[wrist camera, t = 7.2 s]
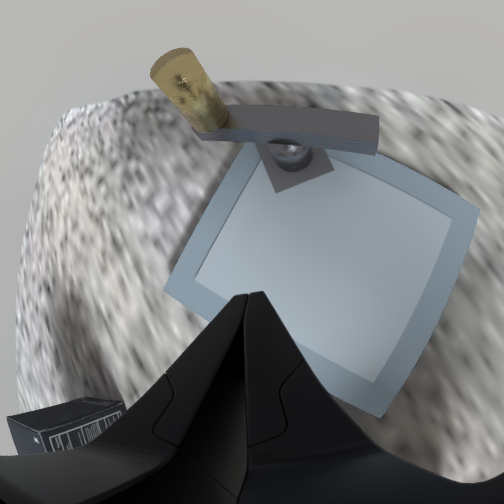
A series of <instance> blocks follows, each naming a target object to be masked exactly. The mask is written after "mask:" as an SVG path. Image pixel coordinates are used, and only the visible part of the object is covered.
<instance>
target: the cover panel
mask: <svg viewBox="0 0 504 504" xmlns="http://www.w3.org/2000/svg"><path fill="white" fill-rule="evenodd" d="M312 151H313V157H312V160H311V162H310V163H309V165H308V166H307V167H305V168H304V169H302V170H300V171H296V172H288V171H284V170H282V169H281V168H279V167H278V166H277V165H276V163H275V161H274V159H273V157H272V155H271V153H270V150H269V148H268V146H267V144H266V143H256V142H245V144H244V145H243V147H242V148H241V150H240V152H239V153H238V155H237V157H236V158H235V160H234V162H233V163H232V165H231V167H230V168H229V170H228V172H227V173H226V175H225V177H224V179H223V180H222V182H221V184H220V185H219V187H218V189H217V191H216V192H215V194H214V196H213V198H212V199H211V201H210V203H209V205H208V206H207V208H206V210H205V212H204V214H203V215H202V217H201V219H200V221H199V223H198V224H197V226H196V228H195V230H194V232H193V233H192V235H191V237H190V239H189V241H188V243H187V245H186V246H185V248H184V250H183V252H182V254H181V256H180V258H179V260H178V262H177V263H176V265H175V267H174V269H173V271H172V273H171V275H170V277H169V279H168V281H167V283H166V285H165V287H164V289H163V291H165V292H166V293H168V294H169V295H170V296H172V297H173V298H175V299H176V300H178V301H179V302H180V303H182V304H183V305H185V306H186V307H188V308H189V309H191V310H192V311H194V312H195V313H197V314H198V315H200V316H201V317H203V318H204V319H206V320H207V321H209V322H211V321H212V320H213V318H214V317H215V316H216V315H217V314H218V313H219V312H220V311H221V310H222V308H223V307H224V306H225V305H226V304H227V303H228V302H229V301H230V299H231V298H232V297H233V296H234V295H238V294H245V293H248V294H250V293H251V292H257V291H264V292H265V294H266V295H267V297H268V299H269V300H270V302H271V304H272V305H273V307H274V309H275V310H276V312H277V313H278V315H279V317H280V318H281V320H282V322H283V323H284V325H285V327H286V328H287V330H288V332H289V333H290V335H291V337H292V338H293V340H294V341H295V343H296V345H297V346H298V348H299V350H300V351H301V353H302V355H303V356H304V358H305V360H306V361H307V362H308V364H309V366H310V367H311V369H312V370H313V372H314V373H315V375H316V376H317V378H318V379H319V381H320V382H321V384H322V385H323V386H324V387H325V389H326V390H327V391H328V392H329V393H330V394H332V395H333V396H335V397H337V398H339V399H341V400H343V401H345V402H347V403H349V404H351V405H353V406H355V407H357V408H359V409H361V410H363V411H365V412H367V413H369V414H371V415H373V416H375V417H377V418H379V419H381V417H382V416H383V414H384V413H385V412H386V410H387V409H388V407H389V406H390V404H391V403H392V401H393V400H394V398H395V397H396V395H397V394H398V392H399V391H400V389H401V387H402V386H403V384H404V383H405V381H406V379H407V378H408V376H409V374H410V373H411V371H412V369H413V368H414V366H415V364H416V362H417V361H418V359H419V357H420V355H421V354H422V352H423V350H424V348H425V346H426V344H427V342H428V341H429V339H430V337H431V335H432V333H433V331H434V329H435V327H436V325H437V323H438V321H439V319H440V316H441V314H442V312H443V310H444V308H445V306H446V303H447V301H448V299H449V297H450V294H451V292H452V290H453V287H454V285H455V282H456V280H457V277H458V275H459V272H460V270H461V267H462V264H463V262H464V259H465V256H466V253H467V250H468V248H469V245H470V242H471V239H472V235H473V232H474V229H475V226H476V222H477V219H478V216H479V212H480V209H479V208H478V207H476V206H474V205H473V204H471V203H470V202H468V201H466V200H465V199H463V198H462V197H460V196H458V195H457V194H455V193H453V192H452V191H450V190H448V189H446V188H445V187H443V186H441V185H439V184H438V183H436V182H434V181H432V180H430V179H429V178H427V177H425V176H423V175H421V174H419V173H417V172H415V171H414V170H412V169H410V168H408V167H406V166H404V165H402V164H400V163H398V162H396V161H394V160H392V159H389V158H387V157H385V156H383V155H381V154H379V153H377V152H376V155H375V156H372V155H366V154H359V153H353V152H346V151H338V150H331V149H323V148H314V147H312Z"/></svg>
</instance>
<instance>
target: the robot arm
mask: <svg viewBox="0 0 504 504" xmlns="http://www.w3.org/2000/svg"><path fill="white" fill-rule="evenodd" d="M0 504H504V472H503V473H501V474H500V475H498V476H496V477H494V478H492V479H489V480H487V481H484V482H478V483H460V482H457V481H453V480H450V479H447V478H445V477H442V476H440V475H437V474H435V473H433V472H430V471H428V470H426V469H423V468H421V467H419V466H417V465H414V464H412V463H410V462H408V461H406V460H403V459H401V458H399V457H397V456H395V455H393V454H391V453H389V452H387V451H386V450H384V449H383V448H381V447H380V446H379V445H377V444H376V443H375V442H374V441H373V440H372V439H371V438H370V437H369V436H368V435H367V434H366V433H365V432H364V431H363V430H362V429H361V428H360V427H359V426H358V425H357V424H356V423H355V422H354V420H353V419H352V418H351V417H350V416H349V415H348V414H347V413H346V412H345V411H344V410H343V408H342V407H341V406H340V405H339V404H338V403H337V402H336V401H335V400H334V398H333V397H332V396H331V395H330V394H329V392H328V391H327V390H326V389H325V387H324V386H323V385H322V384H321V382H320V381H319V379H318V378H317V376H316V375H315V373H314V372H313V370H312V369H311V367H310V366H309V364H308V362H307V361H306V360H305V358H304V356H303V355H302V353H301V351H300V350H299V348H298V346H297V345H296V343H295V341H294V340H293V338H292V337H291V335H290V333H289V332H288V330H287V328H286V327H285V325H284V323H283V322H282V320H281V318H280V317H279V315H278V313H277V312H276V310H275V309H274V307H273V305H272V304H271V302H270V300H269V299H268V297H267V295H266V294H265V292H264V291H257V292H251V293H250V294H248V293H245V294H238V295H234V296H233V297H232V298H231V299H230V301H229V302H228V303H227V304H226V305H225V306H224V307H223V308H222V310H221V311H220V312H219V313H218V314H217V315H216V316H215V317H214V318H213V320H212V321H211V322H210V323H209V324H208V325H207V326H206V327H205V329H204V330H203V331H202V332H201V333H200V334H199V335H198V336H197V337H196V339H195V340H194V341H193V342H192V343H191V344H190V345H189V346H188V347H187V349H186V350H185V351H184V352H183V353H182V354H181V355H180V356H179V357H178V359H177V360H176V361H175V362H174V363H173V364H172V365H171V366H170V367H169V368H168V370H167V371H166V374H163V375H162V376H161V377H160V378H159V379H158V380H157V381H156V383H155V384H154V385H153V386H152V387H151V388H150V389H149V390H148V391H147V392H146V393H145V394H144V395H143V396H142V397H141V398H140V399H139V400H138V401H137V402H136V403H134V404H133V405H132V406H131V407H130V408H129V409H128V410H127V411H126V412H125V413H123V414H122V415H121V416H120V417H119V418H118V419H117V420H115V421H114V422H113V423H112V424H111V425H110V426H109V427H107V428H106V429H105V430H104V431H103V432H102V433H100V434H99V435H98V436H97V437H96V438H94V439H93V440H92V441H90V442H88V443H87V444H85V445H82V446H80V447H77V448H73V449H68V450H61V451H54V452H46V453H37V454H27V455H15V456H0Z"/></svg>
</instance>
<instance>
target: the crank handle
mask: <svg viewBox="0 0 504 504" xmlns="http://www.w3.org/2000/svg"><path fill="white" fill-rule="evenodd" d="M150 77H151V79H152V80H153V81H154V82H155V83H156V84H157V86H158V87H159V88H160V89H161V90H162V91H163V92H164V94H165V95H166V96H167V97H168V98H169V99H170V100H171V102H172V103H173V104H174V105H175V106H176V107H177V109H178V110H179V111H180V112H181V113H182V114H183V115H184V117H185V118H186V119H187V120H188V121H189V123H190V124H191V125H192V126H193V127H192V130H193V131H194V132H195V133H196V134H197V135H198V136H199V138H200V139H201V140H202V141H236V142H256V143H266V144H267V146H268V148H269V150H270V153H271V155H272V157H273V159H274V161H275V163H276V165H277V166H278V167H279V168H281V169H282V170H284V171H288V172H296V171H300V170H302V169H304V168H305V167H307V166H308V165H309V163H310V162H311V160H312V157H313V151H312V147H314V148H323V149H331V150H338V151H346V152H353V153H359V154H366V155H372V156H375V155H376V151H377V147H378V139H379V116H375V115H369V114H362V113H355V112H347V111H339V110H330V109H320V108H308V107H294V106H275V105H225V103H224V101H223V100H222V98H221V96H220V95H219V93H218V92H217V90H216V88H215V87H214V85H213V83H212V82H211V80H210V79H209V77H208V75H207V74H206V72H205V71H204V69H203V67H202V66H201V64H200V63H199V61H198V60H197V58H196V56H195V55H194V53H193V52H192V51H191V50H190V49H188V48H178V49H174V50H171V51H169V52H168V53H166V54H164V55H163V56H161V57H160V58H159V59H158V60H157V61H156V62H155V64H154V65H153V67H152V69H151V72H150Z"/></svg>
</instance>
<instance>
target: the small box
mask: <svg viewBox="0 0 504 504" xmlns="http://www.w3.org/2000/svg"><path fill="white" fill-rule="evenodd" d="M125 412H126V408H125V404H124V403H123V402H121V401H112V400H111V401H107V400H100V399H94V398H85V397H83V398H80V399H76V400H73V401H70V402H66V403H62V404H59V405H55V406H51V407H47V408H43V409H39V410H35V411H30V412H26V413H22V414H18V415H13V416H7V417H6V418H7V422H8V425H9V428H10V432H11V435H12V438H13V441H14V444H15V446H16V449H17V452H18V455H27V454H37V453H46V452H54V451H61V450H68V449H73V448H77V447H80V446H82V445H85V444H87V443H88V442H90V441H92V440H93V439H94V438H96V437H97V436H98V435H99V434H100V433H102V432H103V431H104V430H105V429H106V428H107V427H109V426H110V425H111V424H112V423H113V422H114V421H115V420H117V419H118V418H119V417H120V416H121V415H122V414H123V413H125Z"/></svg>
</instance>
